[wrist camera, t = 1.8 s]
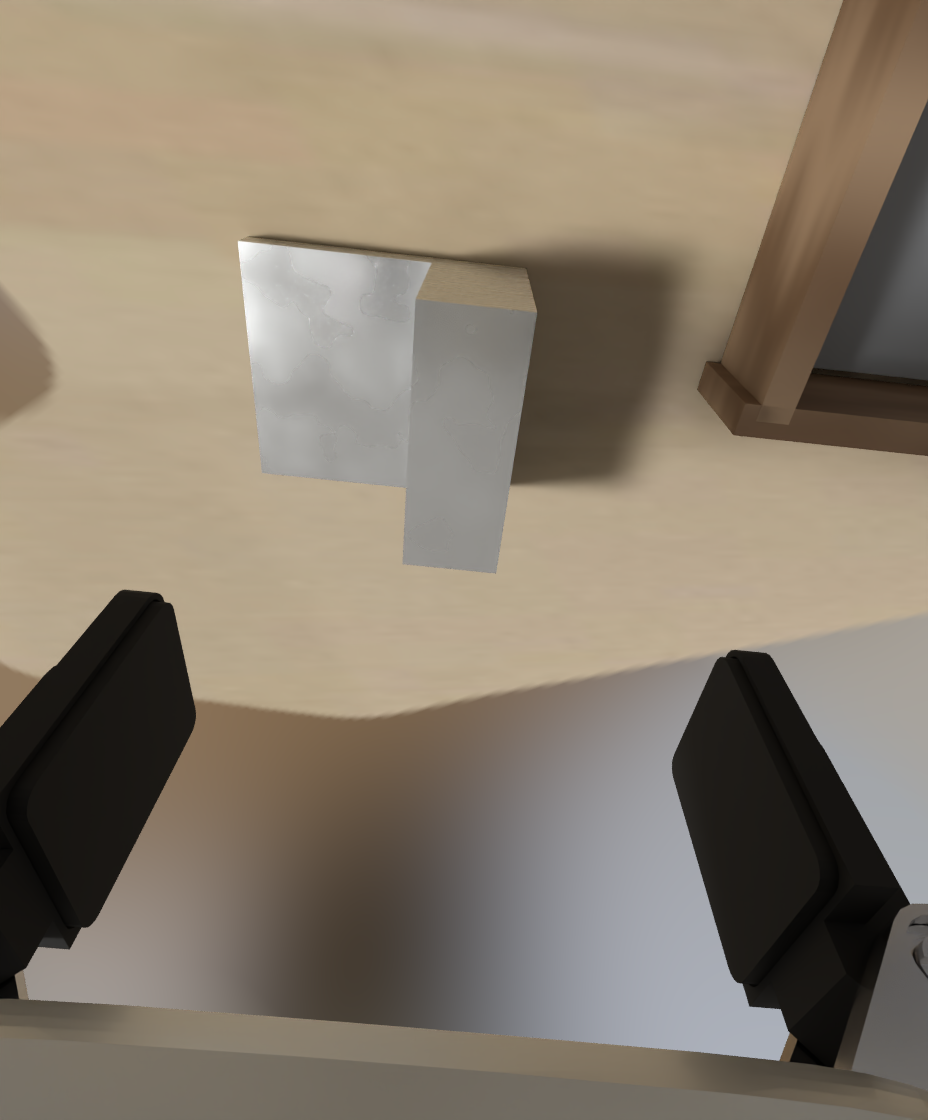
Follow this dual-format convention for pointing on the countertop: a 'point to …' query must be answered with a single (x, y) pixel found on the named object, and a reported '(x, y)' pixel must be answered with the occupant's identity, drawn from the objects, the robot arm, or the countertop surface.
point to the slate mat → (889, 282)
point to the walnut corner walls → (829, 246)
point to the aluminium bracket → (393, 382)
